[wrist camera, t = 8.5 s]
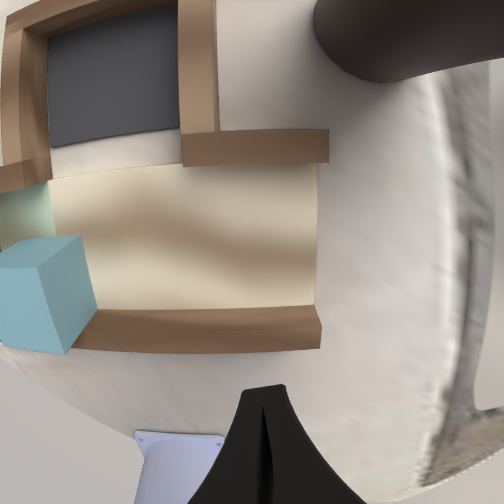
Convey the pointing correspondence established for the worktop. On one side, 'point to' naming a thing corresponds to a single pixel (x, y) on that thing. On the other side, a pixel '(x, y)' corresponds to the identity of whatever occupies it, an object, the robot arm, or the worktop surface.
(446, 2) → the bottle
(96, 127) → the pit mat
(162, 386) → the worktop surface
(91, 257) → the wooden zigzag frame
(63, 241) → the block
